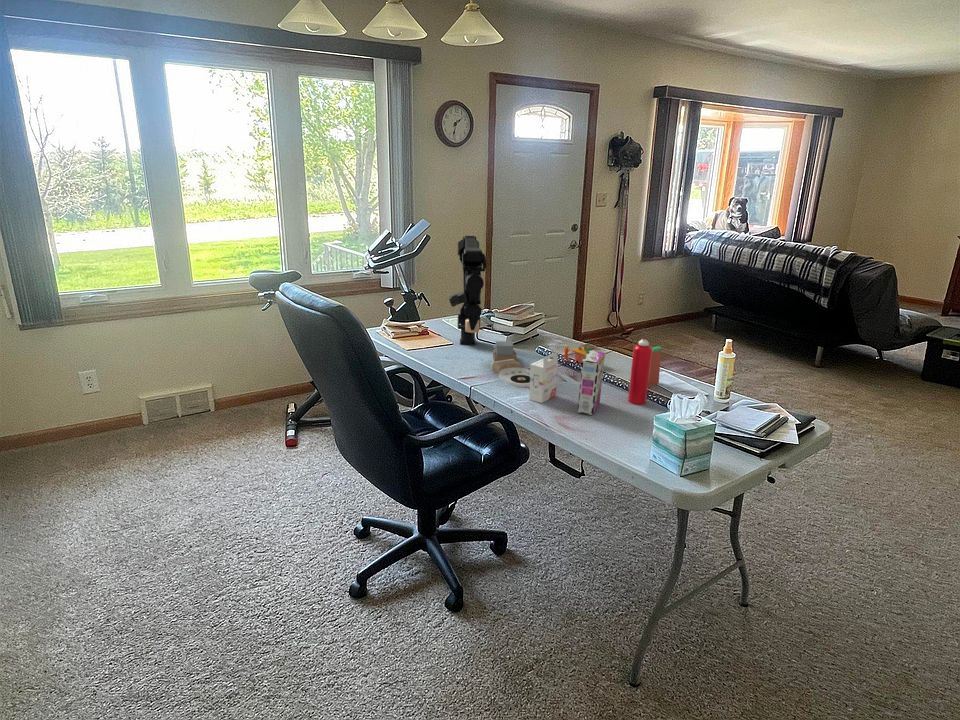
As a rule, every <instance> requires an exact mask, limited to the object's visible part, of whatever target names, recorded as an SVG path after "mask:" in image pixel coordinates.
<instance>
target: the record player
mask: <svg viewBox="0 0 960 720" xmlns="http://www.w3.org/2000/svg"><path fill="white" fill-rule="evenodd" d="M490 369H491V370H492V371H493V372H494V373H496V374H497V373H498V377H499V379H501V381H503V382H504V383H506V384H508V385H509V386H512V387H518V388H530V369H527V368H524V365H523V364H521V362H518V360H517V361H516V360H514V359H508V360H501V361H494V360H493V361H492V362H491V363H490Z"/></svg>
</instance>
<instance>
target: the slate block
mask: <svg viewBox="0 0 960 720" xmlns="http://www.w3.org/2000/svg"><path fill="white" fill-rule="evenodd" d="M494 349H495V351H496V354H497V355H513V349H515V348H514V344H513V341H512V340H511V341H510V340H509V341H507V340H504V341H503V340H499V341H498V340H496V341H495V348H494Z"/></svg>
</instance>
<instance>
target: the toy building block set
mask: <svg viewBox="0 0 960 720" xmlns="http://www.w3.org/2000/svg"><path fill="white" fill-rule="evenodd" d="M569 347H570V346H569V345H568V344H565V346H564V358H563V359H567V360H568V358H569V352H570V349H569ZM594 348H596V345H594V344H592V343H583V344H581V345H580V346H579V347H577V348H573V349H571V351H572V353H574V355H575V356H574V362H575V361H578V362H577V363H579V362H580V363H582V360H583V359H584V358H585V356H586V355H587V354H588V352H589V351H593V349H594ZM651 348H652V357H651V365H650V374H649V382H648V388H649V387H651V386H655V385H659V384H660V383H659V382H660V370H661V358H662V357H661V355H662V346H658V345H657V346H654V347H651Z"/></svg>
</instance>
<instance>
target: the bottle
mask: <svg viewBox="0 0 960 720" xmlns="http://www.w3.org/2000/svg"><path fill="white" fill-rule="evenodd" d="M652 348H653V347H652V346H651V345H650V342H649V341H648V340H647V339H646V338H641V340H639V341H638V344H636V345H635V346H634V347H633V350H632V360H631V368H630V369H631V370H630V379H629V387H628V395H627V402H628V403H630V404H632V405H637V406H639V405H640V406H643V405H646V403H647V398H648V389H649V387H648V382H649V374H650V365H651V357H652Z"/></svg>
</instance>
